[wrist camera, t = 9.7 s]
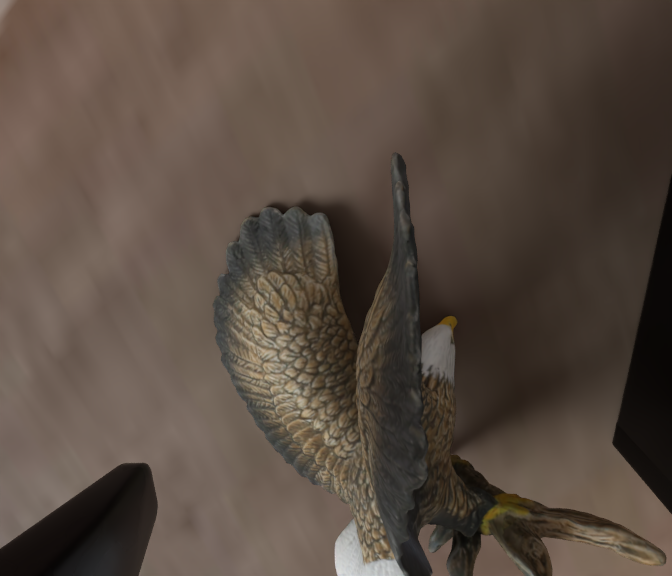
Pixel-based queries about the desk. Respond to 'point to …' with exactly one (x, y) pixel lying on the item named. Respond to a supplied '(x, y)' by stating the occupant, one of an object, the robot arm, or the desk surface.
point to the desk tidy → (652, 377)
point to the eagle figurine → (374, 404)
